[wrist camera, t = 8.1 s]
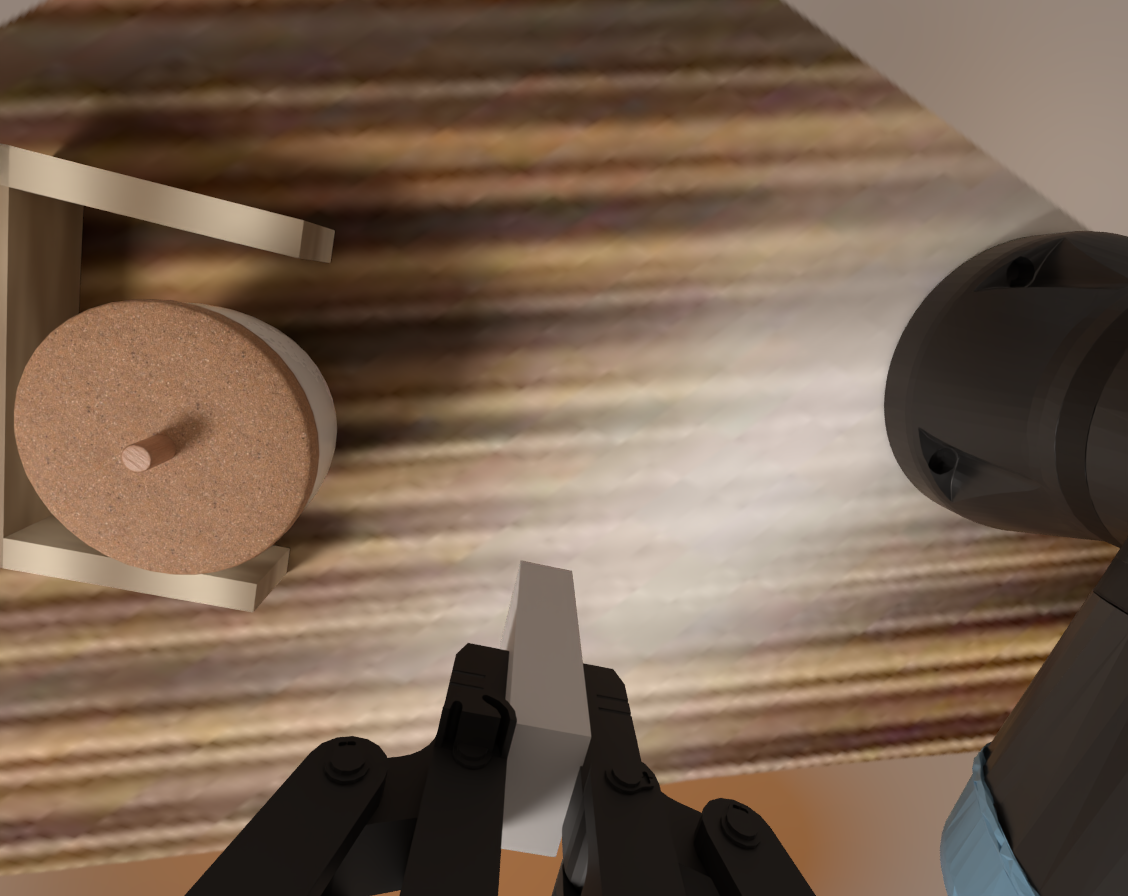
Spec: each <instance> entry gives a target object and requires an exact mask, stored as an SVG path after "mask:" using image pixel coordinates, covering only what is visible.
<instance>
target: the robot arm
mask: <svg viewBox="0 0 1128 896" xmlns="http://www.w3.org/2000/svg"><path fill="white" fill-rule="evenodd" d="M884 413H885V424H886V430H887V435H888V439H889V442H890V446H891V448H892V451H893V454H894V456H895V458H896V460H897V462H898V464H899V466H900V467H901V469H902V471H903V472H904V474H905V475H906V476H907V478H908V479H909V480H910V481H911V483H912V484H913V485H914V486H915V487H916V488H917V489H918V490H919V491H920V492H922V493H923V494H924V495H925V496H927V497H928V498H930V499H931V500H932V501H934V502H936V503H937V504H939V505H941V506H943V507H945V508H947V509H949V510H951V511H953V512H955V513H957V514H959V515H961V516H963V517H965V518H967V519H969V520H971V521H973V522H976V523H979V524H982V525H985V526H989V527H992V528H996V529H1001V530H1007V531H1016V532H1025V533H1034V534H1043V535H1052V536H1062V537H1071V538H1080V539H1089V540H1098V541H1105V542H1108V543H1110V544H1112V545H1115V546H1117V547H1119V548H1120V550H1119V551H1118V553H1117V554H1116V556H1115V558H1114V559H1113V561H1112V562H1111V564H1110V566H1109V567H1108V569H1107V570H1106V572H1105V573H1104V575H1103V576H1102V578H1101V579H1100V581H1099V582H1098V584H1097V586H1096V587H1095V588H1094V589H1093V590H1092V591H1091V593H1090V594H1089V596H1088V597H1087V599H1086V600H1085V602H1084V603H1083V605H1082V606H1081V608H1080V609H1079V611H1078V612H1077V614H1076V615H1075V617H1074V618H1073V620H1072V621H1071V623H1070V624H1069V626H1068V628H1067V629H1066V631H1065V632H1064V634H1063V635H1062V637H1061V638H1060V640H1059V641H1058V643H1057V644H1056V646H1055V647H1054V649H1053V650H1052V652H1051V653H1050V655H1049V656H1048V658H1047V659H1046V661H1045V662H1044V664H1043V665H1042V667H1041V668H1040V670H1039V671H1038V673H1037V674H1036V676H1035V677H1034V679H1033V680H1032V682H1031V683H1030V685H1029V686H1028V688H1027V689H1026V691H1025V692H1024V694H1023V695H1022V697H1021V698H1020V700H1019V701H1018V703H1017V704H1016V706H1015V708H1014V709H1013V711H1012V712H1011V714H1010V715H1009V717H1008V718H1007V720H1006V721H1005V723H1004V724H1003V726H1002V727H1001V729H1000V730H999V732H998V733H997V735H996V736H995V738H994V739H993V741H992V742H990V743H988V744H986V745H985V746H984V747H983V748H982V749H981V752H979V753H978V755H977V756H976V757H975V758H974V762H973V768H972V769H973V774H972V776H971V778H970V779H969V781H968V783H967V785H966V787H965V788H964V790H963V792H962V794H961V795H960V797H959V799H958V801H957V803H956V804H955V806H954V808H953V810H952V811H951V814H950V815H949V817H948V819H947V820H946V823H945V826H944V829H943V832H942V837H941V845H940V861H941V868H942V873H943V879H944V884H945V888H946V891H947V894H948V896H1128V237H1127V236H1123V235H1118V234H1113V233H1107V232H1093V231H1075V232H1065V233H1056V234H1046V235H1037V236H1030V237H1024V238H1020V239H1016V240H1012V241H1009V242H1006V243H1003V244H1000V245H998V246H995V247H993V248H991V249H989V250H987V251H985V252H983V253H981V254H979V255H977V256H975V257H974V258H972V259H970V260H969V261H967V262H966V263H964V264H963V265H961V266H960V267H958V268H957V269H956V270H955V271H953V272H952V273H951V274H950V275H948V276H947V277H946V278H945V279H944V280H943V281H942V282H941V283H940V284H939V285H938V286H937V287H936V288H935V289H934V290H933V291H932V292H931V293H930V294H929V295H928V296H927V298H926V299H925V300H924V301H923V302H922V304H921V305H920V306H919V308H918V309H917V310H916V312H915V313H914V315H913V316H912V318H911V319H910V321H909V323H908V325H907V326H906V328H905V330H904V332H903V334H902V336H901V338H900V340H899V342H898V344H897V347H896V349H895V352H894V355H893V358H892V361H891V364H890V368H889V371H888V376H887V381H886V388H885V400H884ZM630 715H631V712H630V707H629V703H628V698H627V693H626V689H625V684H624V683H623V682H622V680H621V679H620V678H619V676H618V675H617V674H616V672H615V671H614V670H613V669H610V668H604V667H599V666H594V665H589V664H583V661H582V652H581V644H580V635H579V626H578V618H577V609H576V601H575V592H574V583H573V575H572V571H569V570H565V569H560V568H555V567H550V566H545V565H540V564H536V563H531V562H526V561H520V566H519V570H518V574H517V578H516V582H515V586H514V590H513V594H512V598H511V602H510V607H509V611H508V615H507V619H506V623H505V627H504V631H503V635H502V639H501V643H500V649H497V648H491V647H486V646H481V645H476V644H470V643H468V644H467V645H465V646H464V647H463V648H462V649H461V650H460V651H459V652H458V653H457V654H456V657H455V662H454V666H453V670H452V674H451V679H450V683H449V687H448V691H447V696H446V700H445V704H444V707H443V710H442V714H441V719H440V723H439V727H438V732H437V735H436V737H435V739H434V740H433V741H432V742H431V743H430V744H429V745H428V746H427V747H425V748H424V749H422V750H421V751H418V752H416V753H413V754H411V755H406V756H400V757H391V758H387V756H386V754H385V753H384V752H383V750H382V749H381V748H380V746H378V745H377V744H375V743H373V742H371V741H370V740H368V739H364V738H359V737H354V736H350V737H337V738H335V739H332V740H329V741H327V742H324V743H322V744H321V745H319V746H318V747H317V748H316V749H314V750H313V751H312V752H311V753H310V754H309V755H308V756H307V757H306V758H305V759H304V761H303V762H302V763H301V764H300V765H299V766H298V767H297V769H296V770H295V771H294V772H293V773H292V774H291V775H290V776H289V778H288V779H287V780H286V781H285V782H284V783H283V784H282V786H281V787H280V788H279V789H278V790H277V791H276V792H275V793H274V795H273V796H272V797H271V798H270V799H269V800H268V801H267V803H266V804H265V805H264V806H263V807H262V808H261V809H260V811H259V812H258V813H257V814H256V815H255V816H254V817H253V818H252V820H251V821H250V822H249V823H248V824H247V825H246V826H245V828H244V829H243V830H242V831H241V832H240V833H239V834H238V835H237V837H236V838H235V839H234V840H233V841H232V842H231V843H230V845H229V846H228V847H227V848H226V849H225V850H224V851H223V853H222V854H221V855H220V856H219V857H218V858H217V859H216V861H215V862H214V863H213V864H212V865H211V866H210V867H209V868H208V870H207V871H206V872H205V873H204V874H203V875H202V876H201V877H200V879H199V880H198V881H197V882H196V883H195V884H194V885H193V887H192V888H191V889H190V890H189V891H188V892H187V893H186V895H185V896H372V895H377V894H382V893H388V892H393V891H398V890H401V892H400V896H498V886H499V872H500V856H501V849H508V850H513V851H520V852H526V853H532V854H539V855H546V856H552V857H556V854H557V851H558V847H559V844H560V841H561V837H562V845H563V860H562V863H561V866H560V869H559V873H558V876H557V879H556V883H555V886H554V890H553V893H552V896H816V895H815V894H814V892H813V891H812V889H811V888H810V886H809V885H808V883H807V882H806V880H805V879H804V877H803V876H802V874H801V873H800V871H799V870H798V868H797V867H796V865H795V864H794V862H793V861H792V859H791V858H790V856H789V855H788V853H787V852H786V850H785V849H784V847H783V846H782V845H781V843H780V841H779V840H778V838H777V837H776V835H775V834H774V832H773V831H772V829H771V828H770V826H769V825H768V824H767V823H766V822H765V821H764V819H762V817H761V816H760V815H759V814H757V813H756V812H755V811H753V810H752V809H751V808H749V807H748V806H746V805H744V804H741V803H739V802H737V801H735V800H731V799H723V798H719V799H715V800H711V801H709V802H708V803H707V805H706V806H705V807H704V808H703V811H702V813H701V812H699V811H696V810H694V809H692V808H690V807H688V806H685V805H683V804H681V803H679V802H677V801H675V800H673V799H671V798H669V797H668V796H666V795H665V794H664V793H662V792H661V790H660V785H659V783H658V781H657V779H656V777H655V774H654V773H653V772H652V771H651V770H650V769H649V768H648V767H647V766H646V764H644V763H643V762H641V758H640V753H639V748H638V744H637V739H636V735H635V730H634V725H633V721H632V716H630Z"/></svg>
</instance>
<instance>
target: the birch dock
mask: <svg viewBox="0 0 1128 896" xmlns="http://www.w3.org/2000/svg"><path fill="white" fill-rule="evenodd" d="M84 206H88V207H92V208H96V209H101V210H105V211H109V212H113V213H117V214H121V215H125V216H129V217H133V218H137V219H141V220H145V221H149V222H153V223H157V224H161V225H165V226H170V227H174V228H178V229H182V230H186V231H190V232H194V233H198V234H202V235H206V236H210V237H214V238H218V239H222V240H226V241H230V242H234V243H239V244H243V245H247V246H251V247H255V248H259V249H263V250H267V251H271V252H275V253H279V254H283V255H287V256H291V257H295V258H300V259H306V260H313V261H320V262H327V263H331V255H332V248H333V241H334V234H335V230H332V229H329V228H326V227H322V226H319V225H316V224H313V223H310V222H307V221H304V220H300V219H296V218H292V217H288V216H284V215H280V214H276V213H272V212H268V211H264V210H260V209H257V208H253V207H249V206H245V205H241V204H237V203H233V202H229V201H225V200H221V199H217V198H213V197H209V196H205V195H201V194H197V193H194V192H190V191H186V190H182V189H178V188H174V187H170V186H166V185H162V184H158V183H154V182H150V181H146V180H142V179H138V178H134V177H131V176H127V175H123V174H119V173H115V172H111V171H107V170H103V169H99V168H95V167H91V166H87V165H83V164H79V163H75V162H71V161H68V160H64V159H60V158H56V157H52V156H48V155H44V154H40V153H36V152H32V151H28V150H24V149H20V148H16V147H12V146H8V145H4V144H1V143H0V568H5V569H11V570H16V571H22V572H28V573H33V574H39V575H45V576H50V577H56V578H62V579H67V580H73V581H79V582H84V583H90V584H96V585H101V586H107V587H113V588H118V589H124V590H130V591H135V592H141V593H147V594H152V595H158V596H164V597H169V598H175V599H181V600H186V601H192V602H198V603H203V604H209V605H215V606H220V607H226V608H232V609H237V610H243V611H249V612H254V611H255V610H256V608H257V607H258V606H259V605H260V604H261V603H262V601H263V600H264V599H265V598H266V597H267V596H268V594H269V593H270V592H271V591H272V590H273V589H274V587H275V586H276V585H277V584H278V583H279V582H280V580H281V579H282V578H283V577H284V576H285V575H286V573H287V566H288V559H289V552H290V548H285V547H280V546H274V545H272V546H271V547H270V548H268V549H267V550H265V551H264V552H262V553H261V554H259V555H258V556H256V557H255V558H253V559H251V560H249V561H246V562H244V563H242V564H240V565H238V566H235V567H232V568H228V569H225V570H221V571H218V572H212V573H205V574H197V575H173V574H166V573H159V572H152V571H148V570H145V569H141V568H137V567H134V566H130V565H127V564H124V563H122V562H120V561H118V560H115V559H113V558H111V557H109V556H106V555H105V554H103V553H101V552H99V551H98V550H96V549H94V548H92V547H90V546H89V545H87V544H85V543H84V542H83V541H82V540H80V539H79V538H78V537H77V536H75V535H74V534H73V533H72V532H70V531H69V530H68V529H67V528H66V527H65V526H64V525H63V524H62V523H61V522H60V521H59V520H58V519H57V518H56V517H55V516H54V515H53V514H52V513H51V512H50V511H49V509H48V508H47V507H46V505H45V504H44V503H43V501H42V500H41V498H40V497H39V496H38V494H37V493H36V491H35V489H34V487H33V486H32V484H31V482H30V480H29V479H28V477H27V475H26V472H25V470H24V467H23V464H22V461H21V458H20V455H19V452H18V447H17V443H16V438H15V433H14V407H15V400H16V392H17V388H18V385H19V382H20V379H21V377H22V374H23V371H24V368H25V366H26V365H27V363H28V361H29V359H30V358H31V356H32V354H33V353H34V351H35V349H36V348H37V347H38V346H39V345H40V344H41V342H42V341H43V340H44V339H45V338H46V337H47V336H48V335H49V334H50V332H52V331H53V330H54V329H56V328H57V327H58V326H60V325H61V324H62V323H64V322H65V321H66V320H68V319H69V318H71V317H73V316H75V315H77V314H79V298H80V275H81V253H82V230H83V207H84Z"/></svg>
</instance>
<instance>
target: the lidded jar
mask: <svg viewBox="0 0 1128 896" xmlns="http://www.w3.org/2000/svg"><path fill="white" fill-rule="evenodd" d="M14 433H15V438H16V443H17V447H18V452H19V455H20V458H21V461H22V464H23V467H24V470H25V472H26V475H27V477H28V479H29V480H30V482H31V484H32V486H33V487H34V489H35V491H36V493H37V494H38V496H39V497H40V498H41V500H42V501H43V503H44V504H45V505H46V507H47V508H48V509H49V511H50V512H51V513H52V514H53V515H54V516H55V517H56V518H57V519H58V520H59V521H60V522H61V523H62V524H63V525H64V526H65V527H66V528H67V529H68V530H69V531H70V532H72V533H73V534H74V535H75V536H77V537H78V538H79V539H80V540H82V541H83V542H84V543H85V544H87V545H89V546H90V547H92V548H94V549H96V550H98V551H99V552H101V553H103V554H105V555H106V556H109V557H111V558H113V559H115V560H118V561H120V562H122V563H124V564H127V565H130V566H134V567H137V568H141V569H145V570H148V571H152V572H159V573H166V574H173V575H197V574H205V573H212V572H218V571H221V570H225V569H228V568H232V567H235V566H238V565H240V564H242V563H244V562H246V561H249V560H251V559H253V558H255V557H256V556H258V555H259V554H261V553H262V552H264V551H265V550H267V549H268V548H270V547H271V546H272V545H273V544H274V543H275V542H276V541H278V540H279V539H280V538H281V537H282V536H283V535H284V534H285V533H286V532H287V531H288V530H289V529H290V528H291V527H292V525H293V524H294V522H295V521H296V520H297V518H298V517H299V516H300V514H301V513H302V512H303V510H304V509H305V508H306V507H307V506H308V504H309V503H310V502H311V500H312V499H313V497H314V496H315V495H316V493H317V492H318V490H319V488H320V487H321V485H322V483H323V481H324V479H325V477H326V475H327V473H328V471H329V468H330V465H331V461H332V458H333V454H334V451H335V447H336V438H337V419H336V411H335V407H334V402H333V398H332V396H331V393H330V391H329V388H328V385H327V383H326V381H325V379H324V378H323V376H322V374H321V372H320V371H319V369H318V367H317V366H316V365H315V363H314V362H313V361H312V359H311V358H310V357H309V356H308V354H307V353H306V352H305V351H304V350H303V349H302V348H301V347H300V346H299V345H298V344H297V343H295V342H294V341H293V340H292V339H291V338H289V337H288V336H287V335H285V334H284V333H282V332H281V331H280V330H278V329H276V328H275V327H273V326H271V325H269V324H267V323H265V322H263V321H261V320H259V319H257V318H255V317H252V316H250V315H247V314H244V313H241V312H238V311H235V310H232V309H227V308H222V307H217V306H212V305H207V304H202V303H182V302H177V301H172V300H151V299H135V300H127V301H118V302H111V303H107V304H104V305H100V306H97V307H94V308H90V309H88V310H86V311H84V312H82V313H80V314H77V315H75V316H73V317H71V318H69V319H68V320H66V321H65V322H64V323H62V324H61V325H60V326H58V327H57V328H56V329H54V330H53V331H52V332H50V334H49V335H48V336H47V337H46V338H45V339H44V340H43V341H42V342H41V344H40V345H39V346H38V347H37V348H36V349H35V351H34V353H33V354H32V356H31V358H30V359H29V361H28V363H27V365H26V366H25V368H24V371H23V374H22V377H21V379H20V382H19V385H18V388H17V392H16V400H15V407H14Z"/></svg>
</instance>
